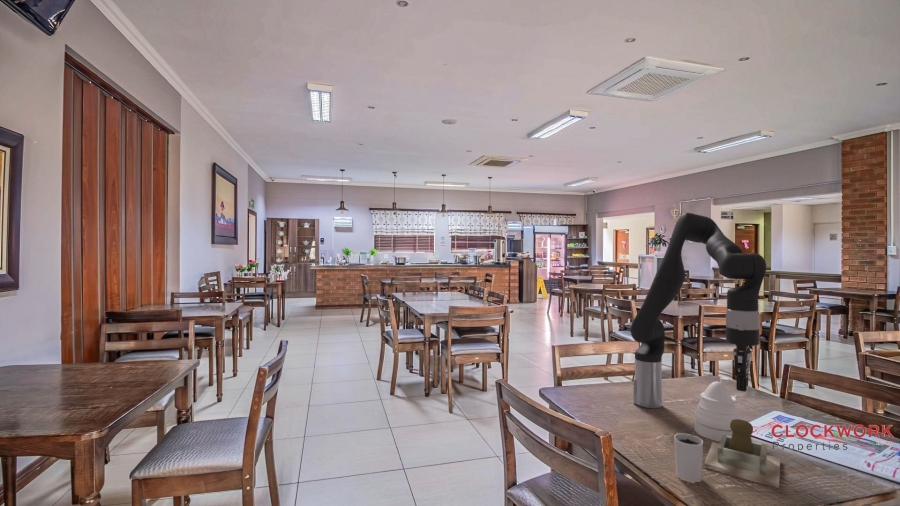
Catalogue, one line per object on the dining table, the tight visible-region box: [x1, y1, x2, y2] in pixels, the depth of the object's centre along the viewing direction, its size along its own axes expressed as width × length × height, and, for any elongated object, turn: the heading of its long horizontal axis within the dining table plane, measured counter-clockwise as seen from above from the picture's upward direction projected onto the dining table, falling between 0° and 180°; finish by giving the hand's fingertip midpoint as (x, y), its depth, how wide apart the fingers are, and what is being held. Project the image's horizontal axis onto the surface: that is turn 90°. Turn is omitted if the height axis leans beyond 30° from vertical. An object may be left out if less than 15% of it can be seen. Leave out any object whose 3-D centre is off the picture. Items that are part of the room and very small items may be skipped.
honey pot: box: [694, 376, 742, 442], centre depth 134 cm, size 13×13×18 cm
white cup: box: [673, 432, 704, 482], centre depth 109 cm, size 7×7×10 cm
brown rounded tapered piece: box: [730, 418, 754, 455], centre depth 115 cm, size 6×6×11 cm
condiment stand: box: [703, 434, 781, 489], centre depth 115 cm, size 16×16×5 cm
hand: (742, 387), depth 115 cm, fingers open, 4 cm apart
